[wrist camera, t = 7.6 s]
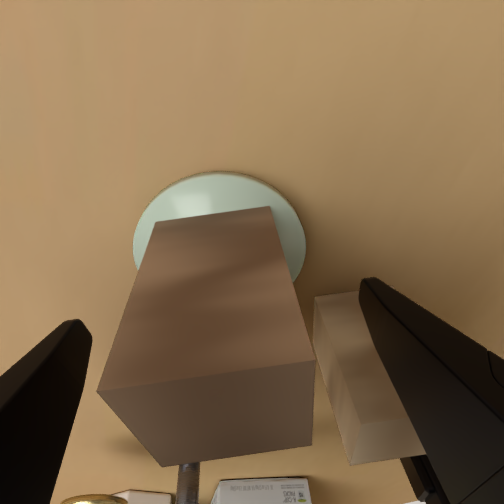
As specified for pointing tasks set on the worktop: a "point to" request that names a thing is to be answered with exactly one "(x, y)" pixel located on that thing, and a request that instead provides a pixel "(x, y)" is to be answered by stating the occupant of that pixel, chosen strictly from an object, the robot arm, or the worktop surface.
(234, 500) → the tea box
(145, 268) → the block walnut
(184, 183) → the dish
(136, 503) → the jar
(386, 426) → the block beech
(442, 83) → the worktop surface
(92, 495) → the balance
